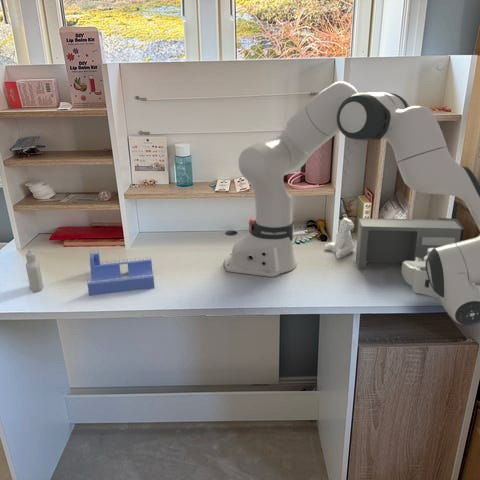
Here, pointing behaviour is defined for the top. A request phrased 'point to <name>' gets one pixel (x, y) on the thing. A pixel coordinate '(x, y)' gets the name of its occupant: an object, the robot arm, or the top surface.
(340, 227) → the seated beast figurine
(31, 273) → the eye dropper bottle
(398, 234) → the printer housing
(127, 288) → the blue plastic stand
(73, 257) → the top surface
